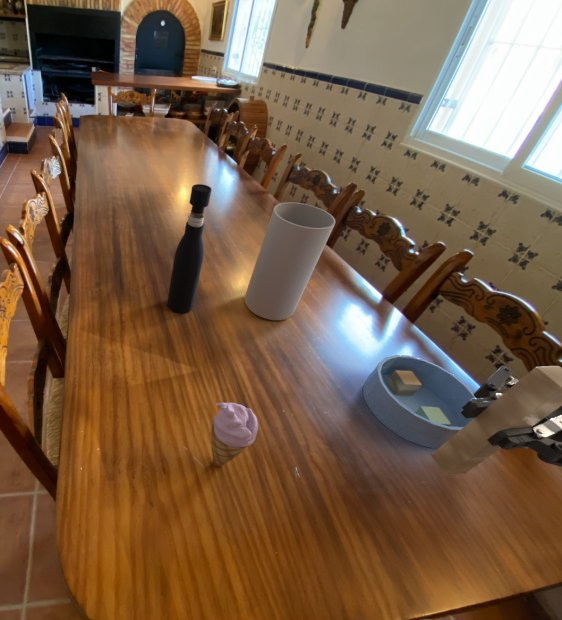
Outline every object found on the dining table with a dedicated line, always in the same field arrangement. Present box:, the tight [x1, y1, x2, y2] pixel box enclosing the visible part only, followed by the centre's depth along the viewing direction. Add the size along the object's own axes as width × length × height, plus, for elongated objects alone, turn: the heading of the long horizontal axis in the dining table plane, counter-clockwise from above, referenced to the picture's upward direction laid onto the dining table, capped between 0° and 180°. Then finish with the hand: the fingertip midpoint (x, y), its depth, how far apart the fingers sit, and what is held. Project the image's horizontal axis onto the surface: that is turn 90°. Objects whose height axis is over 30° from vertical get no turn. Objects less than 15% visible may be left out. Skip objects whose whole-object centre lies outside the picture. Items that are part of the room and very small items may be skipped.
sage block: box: [415, 407, 451, 426], centre depth 65 cm, size 4×4×4 cm
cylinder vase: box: [243, 201, 336, 321], centre depth 83 cm, size 12×12×25 cm
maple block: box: [387, 370, 422, 396], centre depth 71 cm, size 4×4×4 cm
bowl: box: [362, 354, 476, 449], centre depth 68 cm, size 17×17×6 cm
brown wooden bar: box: [430, 365, 562, 476], centre depth 41 cm, size 3×3×18 cm
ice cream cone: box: [210, 402, 259, 468], centre depth 54 cm, size 7×6×15 cm
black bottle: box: [166, 183, 212, 315], centre depth 79 cm, size 6×6×30 cm
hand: (481, 424), depth 40 cm, fingers closed on brown wooden bar, 3 cm apart
